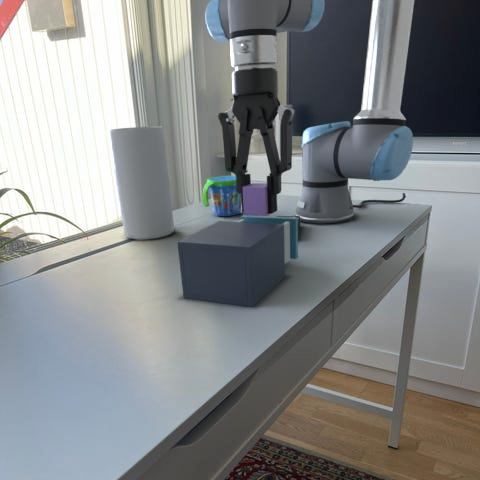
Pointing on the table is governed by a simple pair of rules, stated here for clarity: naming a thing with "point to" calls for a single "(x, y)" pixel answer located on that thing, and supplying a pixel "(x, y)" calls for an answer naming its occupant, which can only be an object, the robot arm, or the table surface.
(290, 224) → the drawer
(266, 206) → the purple block
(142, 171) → the cylinder vase
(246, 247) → the slate grey box
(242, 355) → the table surface
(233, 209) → the snack cup
